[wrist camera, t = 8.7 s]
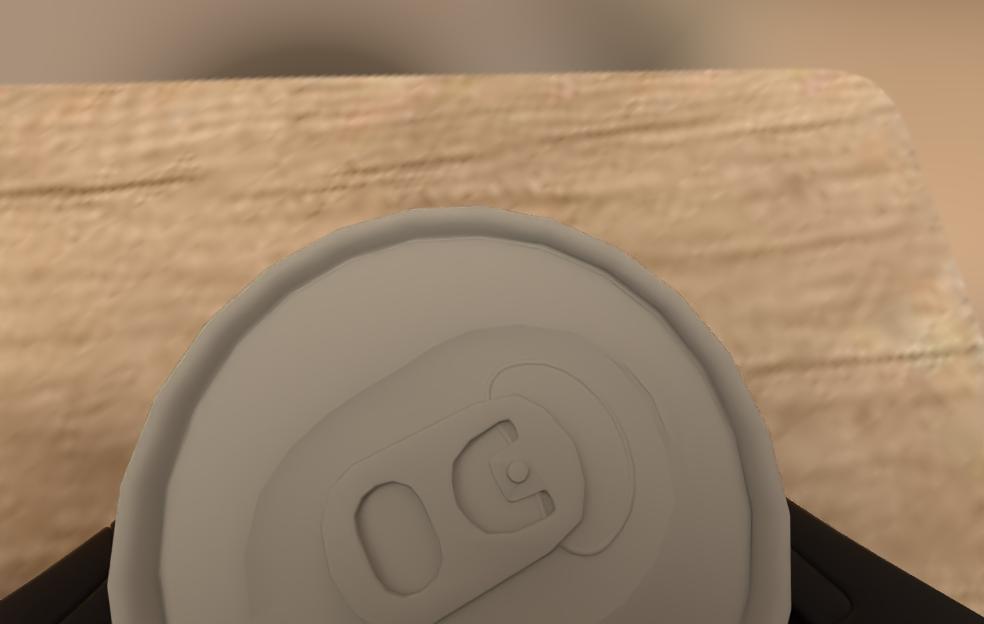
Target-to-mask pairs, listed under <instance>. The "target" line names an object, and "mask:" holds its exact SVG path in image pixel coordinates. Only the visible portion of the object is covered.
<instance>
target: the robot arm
mask: <svg viewBox="0 0 984 624" xmlns="http://www.w3.org/2000/svg"><path fill="white" fill-rule="evenodd" d="M786 501H787V505H788V509H789V513H790V560H791V612H790V616H789V620H788V624H984V617H982V616H980V615H979V614H977V613H975V612H974V611H972V610H970V609H969V608H967V607H965V606H963V605H962V604H960V603H958V602H957V601H955V600H953V599H951V598H950V597H948V596H946V595H945V594H943V593H941V592H939V591H938V590H936V589H934V588H933V587H931V586H929V585H927V584H926V583H924V582H922V581H921V580H919V579H917V578H916V577H914V576H912V575H910V574H909V573H907V572H905V571H904V570H902V569H900V568H898V567H897V566H895V565H893V564H892V563H890V562H888V561H886V560H885V559H883V558H881V557H880V556H878V555H876V554H875V553H873V552H871V551H870V550H868V549H866V548H865V547H863V546H861V545H860V544H858V543H857V542H855V541H853V540H852V539H850V538H848V537H847V536H845V535H843V534H842V533H840V532H838V531H837V530H835V529H834V528H832V527H831V526H829V525H828V524H826V523H824V522H823V521H821V520H820V519H818V518H817V517H815V516H814V515H812V514H811V513H809V512H807V511H806V510H804V509H803V508H801V507H800V506H798V505H797V504H795V503H794V502H792V501H791V500H789V499H788V498H787V497H786ZM115 522H116V520H115V521H114V522H112V524H111V528H109V527H106V528H104V529H103V530H101V531H100V532H98V533H97V534H96V535H94V536H93V537H92V538H90V539H89V540H88V541H86V542H85V543H83V544H82V545H81V546H79V547H78V548H77V549H75V550H74V551H72V552H71V553H70V554H68V555H67V556H65V557H64V558H62V559H61V560H60V561H58V562H57V563H55V564H54V565H53V566H51V567H50V568H48V569H47V570H46V571H44V572H43V573H41V574H40V575H39V576H37V577H36V578H34V579H33V580H31V581H30V582H28V583H27V584H25V585H24V586H22V587H21V588H19V589H18V590H16V591H15V592H13V593H12V594H10V595H9V596H7V597H6V598H4V599H3V600H1V601H0V624H112V618H111V610H110V603H109V595H108V587H107V585H108V577H109V569H110V561H111V554H112V546H113V538H114V530H115Z"/></svg>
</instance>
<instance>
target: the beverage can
mask: <svg viewBox="0 0 984 624" xmlns="http://www.w3.org/2000/svg"><path fill="white" fill-rule="evenodd" d="M107 587H108V595H109V603H110V610H111V618H112V624H788V620H789V616H790V612H791V560H790V513H789V509H788V505H787V501H786V497H785V493H784V489H783V485H782V481H781V477H780V473H779V469H778V465H777V461H776V457H775V453H774V449H773V445H772V441H771V437H770V433H769V430H768V427H767V425H766V423H765V421H764V419H763V417H762V415H761V413H760V411H759V409H758V407H757V405H756V403H755V401H754V399H753V398H752V396H751V394H750V392H749V390H748V388H747V386H746V384H745V382H744V380H743V378H742V376H741V374H740V372H739V370H738V368H737V366H736V364H735V362H734V360H733V358H732V356H731V354H730V353H729V352H728V351H727V349H726V348H725V347H724V346H723V345H722V344H721V342H720V341H719V340H718V339H717V338H716V336H715V335H714V334H713V333H712V332H711V330H710V329H709V328H708V327H707V326H706V325H705V323H704V322H703V321H702V320H701V319H700V317H699V316H698V315H697V314H696V313H695V311H694V310H693V309H692V308H691V307H690V306H689V304H688V303H687V302H686V301H685V300H684V298H683V297H682V296H681V295H680V294H679V293H678V292H676V291H675V290H674V289H672V288H671V287H670V286H669V285H667V284H666V283H665V282H663V281H662V280H661V279H659V278H658V277H657V276H655V275H654V274H653V273H651V272H650V271H649V270H647V269H646V268H645V267H643V266H642V265H641V264H640V263H638V262H637V261H636V260H634V259H633V258H632V257H630V256H629V255H628V254H626V253H625V252H624V251H622V250H621V249H619V248H617V247H615V246H613V245H610V244H608V243H606V242H604V241H601V240H599V239H597V238H595V237H592V236H590V235H588V234H586V233H583V232H581V231H579V230H576V229H574V228H572V227H570V226H567V225H565V224H563V223H561V222H558V221H556V220H554V219H549V218H544V217H539V216H534V215H528V214H523V213H518V212H513V211H508V210H502V209H497V208H492V207H487V206H464V207H442V208H420V209H408V210H404V211H400V212H397V213H393V214H390V215H386V216H382V217H379V218H375V219H372V220H368V221H365V222H361V223H357V224H354V225H350V226H347V227H343V228H340V229H336V230H335V231H333V232H331V233H329V234H327V235H326V236H324V237H322V238H320V239H318V240H317V241H315V242H313V243H311V244H309V245H308V246H306V247H304V248H302V249H300V250H299V251H297V252H295V253H293V254H291V255H290V256H288V257H286V258H284V259H282V260H281V261H279V262H277V263H275V264H273V265H272V266H270V267H268V268H267V269H266V270H265V271H264V272H262V273H261V274H260V275H259V276H258V277H257V278H256V279H255V280H253V281H252V282H251V283H250V284H249V285H248V286H247V287H246V288H245V289H243V290H242V291H241V292H240V293H239V294H238V295H237V296H236V297H235V298H233V299H232V300H231V301H230V302H229V303H228V304H227V305H226V306H225V307H223V308H222V309H221V310H220V311H219V312H218V313H217V314H216V315H214V316H213V317H212V318H211V319H210V320H209V321H208V322H207V323H206V324H205V325H204V327H203V328H202V330H201V331H200V332H199V334H198V335H197V337H196V338H195V340H194V341H193V343H192V344H191V345H190V347H189V348H188V350H187V351H186V353H185V354H184V356H183V357H182V358H181V360H180V361H179V363H178V364H177V366H176V367H175V369H174V370H173V371H172V373H171V374H170V376H169V377H168V379H167V380H166V382H165V383H164V385H163V386H162V387H161V389H160V390H159V392H158V393H157V395H156V396H155V398H154V401H153V403H152V406H151V408H150V411H149V413H148V416H147V419H146V421H145V424H144V426H143V429H142V431H141V434H140V436H139V439H138V441H137V444H136V447H135V449H134V452H133V454H132V457H131V459H130V462H129V464H128V467H127V469H126V472H125V475H124V477H123V480H122V482H121V485H120V491H119V499H118V507H117V514H116V522H115V530H114V538H113V546H112V554H111V561H110V569H109V577H108V585H107Z"/></svg>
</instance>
